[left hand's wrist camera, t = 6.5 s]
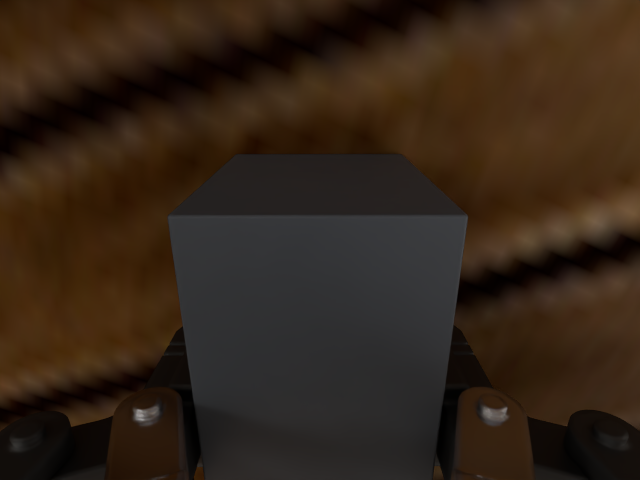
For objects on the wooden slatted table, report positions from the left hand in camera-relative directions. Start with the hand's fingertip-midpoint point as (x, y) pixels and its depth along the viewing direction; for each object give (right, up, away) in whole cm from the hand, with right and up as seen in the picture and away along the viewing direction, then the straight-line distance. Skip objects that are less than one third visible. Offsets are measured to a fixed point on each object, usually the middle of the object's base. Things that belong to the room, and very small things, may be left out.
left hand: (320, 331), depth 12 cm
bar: (0, -27, +12) cm, 29 cm away
